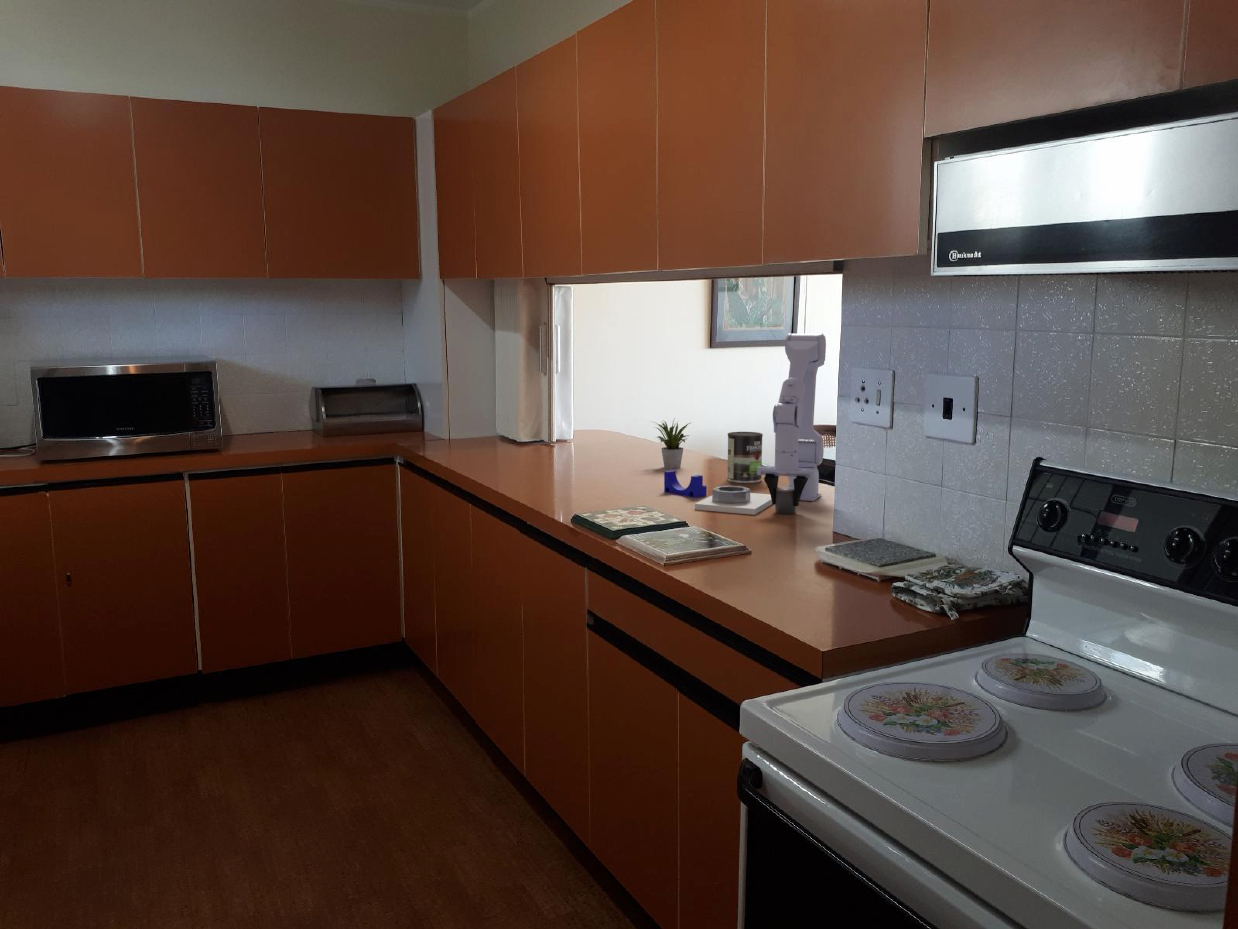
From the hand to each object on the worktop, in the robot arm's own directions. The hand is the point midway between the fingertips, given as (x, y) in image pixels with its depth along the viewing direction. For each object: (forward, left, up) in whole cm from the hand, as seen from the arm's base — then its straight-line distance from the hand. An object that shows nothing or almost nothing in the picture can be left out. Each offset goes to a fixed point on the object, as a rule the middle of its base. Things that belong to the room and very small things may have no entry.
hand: (785, 504), depth 249 cm
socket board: (-4, -14, -2) cm, 15 cm away
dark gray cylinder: (0, 0, -2) cm, 2 cm away
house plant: (-53, -54, -2) cm, 76 cm away
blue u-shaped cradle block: (-13, -32, -2) cm, 35 cm away
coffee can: (-40, -24, -2) cm, 47 cm away
